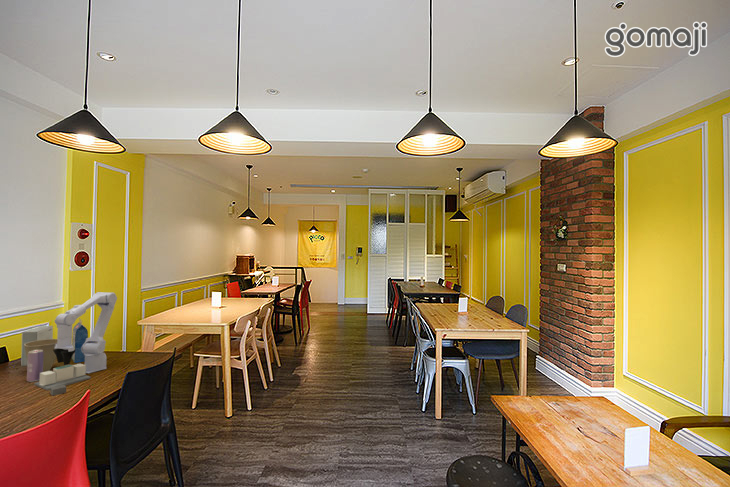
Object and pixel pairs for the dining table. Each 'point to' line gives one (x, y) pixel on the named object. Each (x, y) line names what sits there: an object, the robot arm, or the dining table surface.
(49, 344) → the plant pot
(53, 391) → the block
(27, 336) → the hard drive box
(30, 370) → the beverage can
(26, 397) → the dining table surface
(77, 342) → the blue food package
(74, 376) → the board
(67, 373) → the block
